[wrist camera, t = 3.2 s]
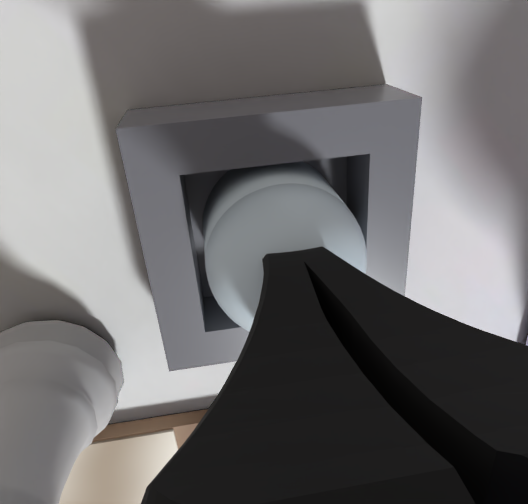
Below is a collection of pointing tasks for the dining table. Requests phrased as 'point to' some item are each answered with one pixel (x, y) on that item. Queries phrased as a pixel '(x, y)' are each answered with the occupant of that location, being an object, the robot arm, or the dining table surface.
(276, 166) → the dome button
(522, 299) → the dining table surface
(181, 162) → the dome housing
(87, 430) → the rook chess piece
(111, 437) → the game board
